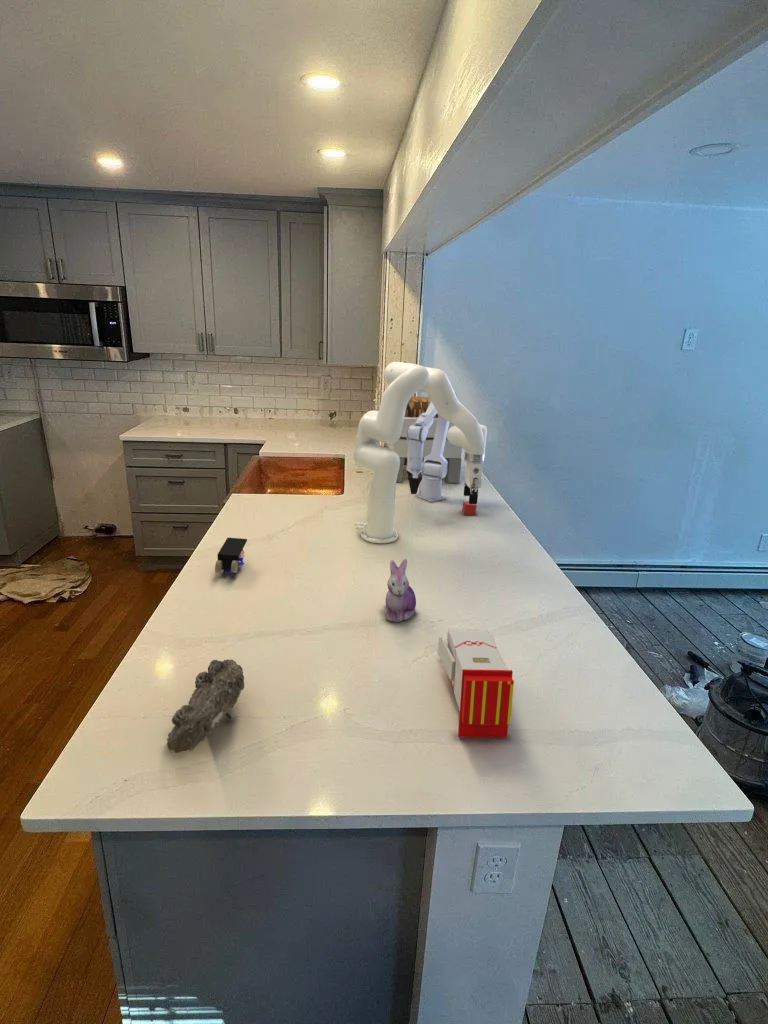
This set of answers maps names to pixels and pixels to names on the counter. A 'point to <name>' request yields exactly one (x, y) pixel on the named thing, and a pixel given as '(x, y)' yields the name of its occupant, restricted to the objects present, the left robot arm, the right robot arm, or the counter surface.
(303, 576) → the counter surface
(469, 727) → the toy
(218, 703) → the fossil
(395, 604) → the figurine
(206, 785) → the counter surface
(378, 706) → the counter surface
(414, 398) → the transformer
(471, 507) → the cube
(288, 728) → the counter surface
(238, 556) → the figurine character
